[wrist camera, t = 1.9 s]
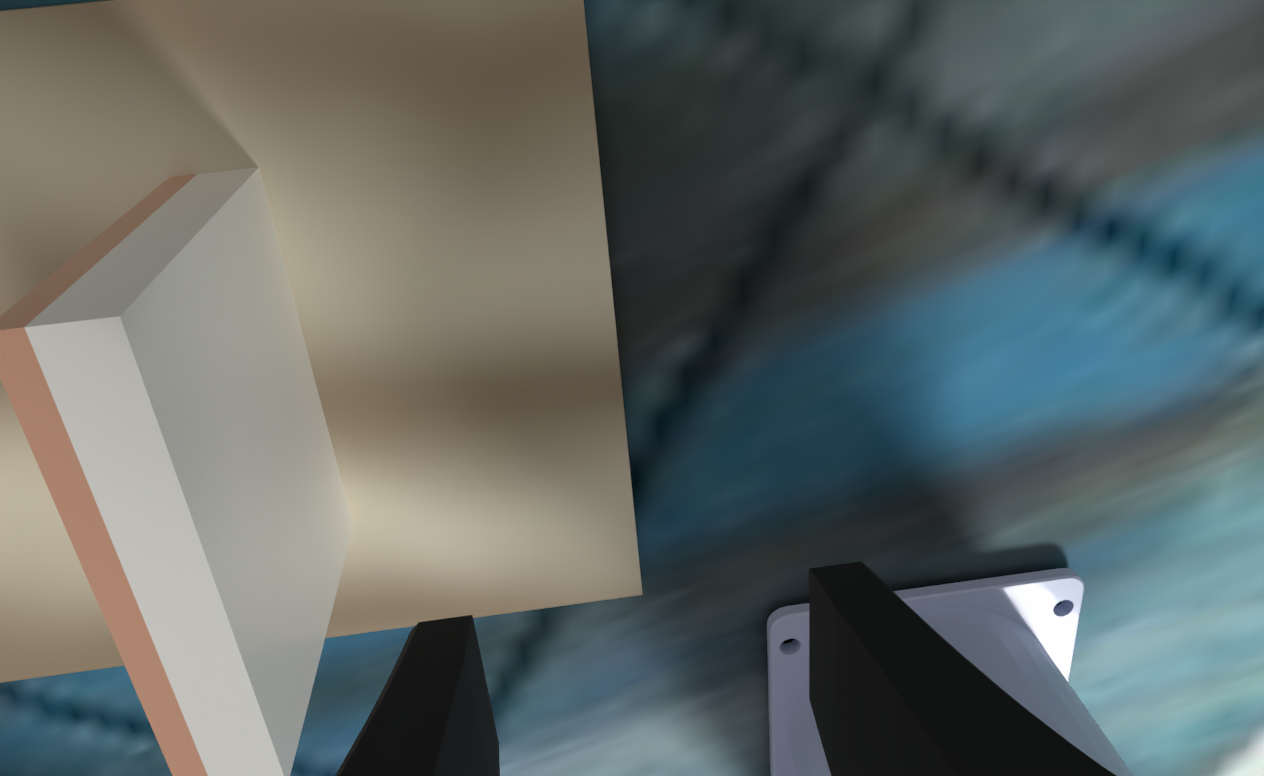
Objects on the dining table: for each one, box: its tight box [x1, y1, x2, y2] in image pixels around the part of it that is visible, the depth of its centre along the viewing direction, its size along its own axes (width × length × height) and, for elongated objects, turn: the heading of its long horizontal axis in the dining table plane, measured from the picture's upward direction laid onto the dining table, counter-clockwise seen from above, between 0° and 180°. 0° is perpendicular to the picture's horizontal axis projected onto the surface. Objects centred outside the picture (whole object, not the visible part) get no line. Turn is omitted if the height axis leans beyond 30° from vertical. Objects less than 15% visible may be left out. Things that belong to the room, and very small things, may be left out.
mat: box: [0, 0, 642, 682], centre depth 19 cm, size 14×18×1 cm
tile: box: [0, 167, 353, 776], centre depth 16 cm, size 8×2×7 cm, turn 5°
